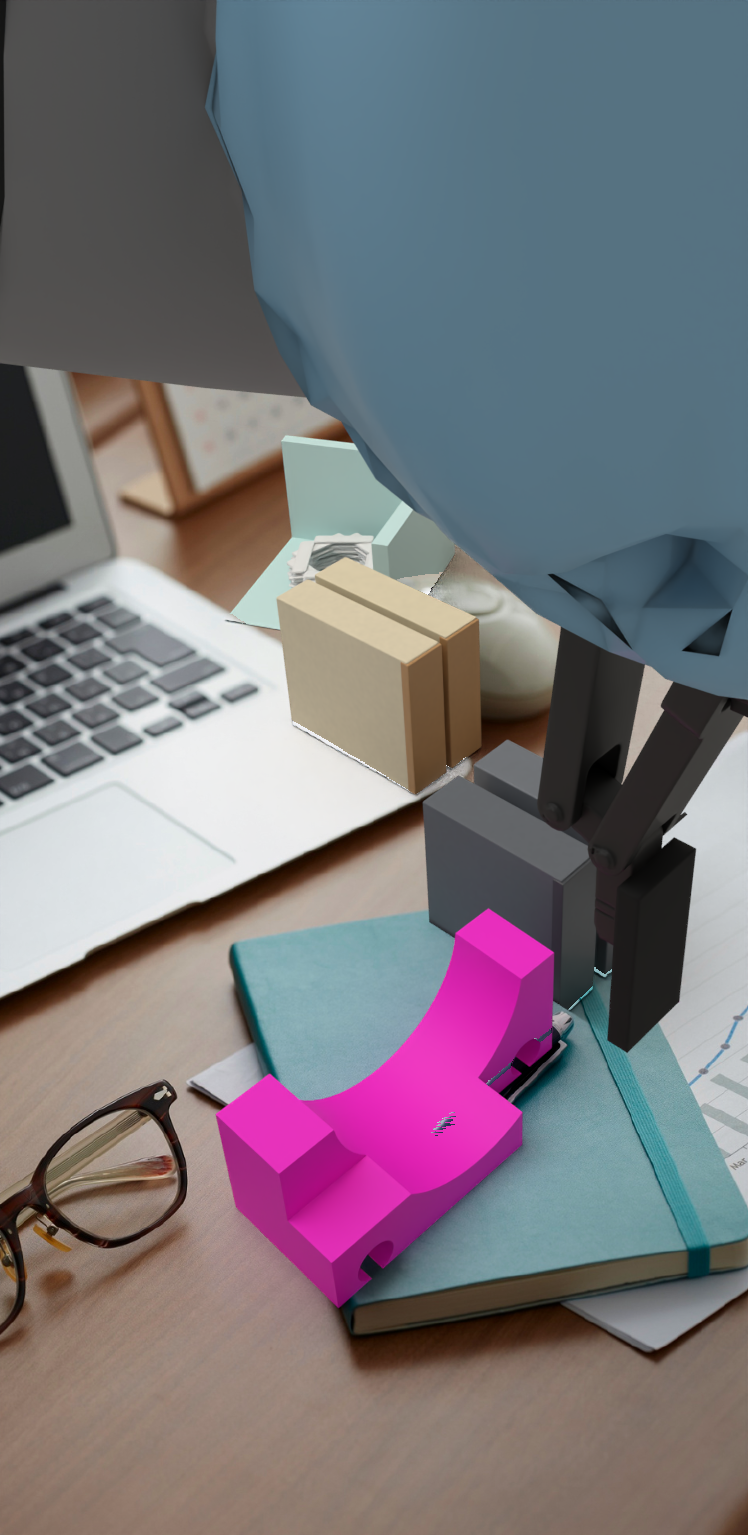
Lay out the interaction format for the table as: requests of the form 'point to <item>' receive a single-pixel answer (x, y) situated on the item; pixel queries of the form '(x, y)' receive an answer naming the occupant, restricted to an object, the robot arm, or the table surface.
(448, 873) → the gray rectangular block
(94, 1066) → the table surface
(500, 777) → the dark gray block
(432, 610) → the beige upright slab
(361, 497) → the right angle wall
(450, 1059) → the toy block
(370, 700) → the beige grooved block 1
